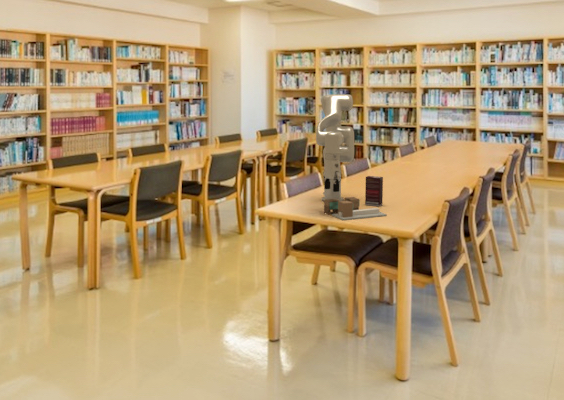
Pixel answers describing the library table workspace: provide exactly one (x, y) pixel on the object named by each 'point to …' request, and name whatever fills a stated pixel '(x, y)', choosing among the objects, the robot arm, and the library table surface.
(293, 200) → the library table surface
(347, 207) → the rail board
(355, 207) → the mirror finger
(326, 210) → the block
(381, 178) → the supplement box
